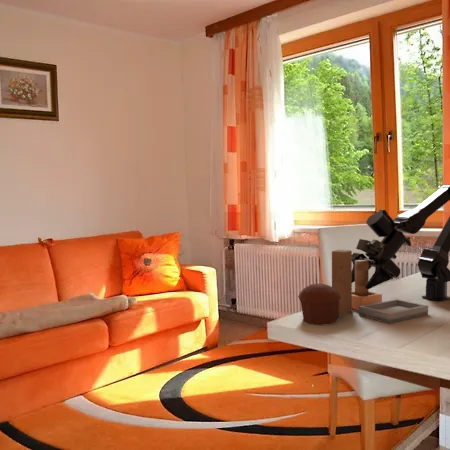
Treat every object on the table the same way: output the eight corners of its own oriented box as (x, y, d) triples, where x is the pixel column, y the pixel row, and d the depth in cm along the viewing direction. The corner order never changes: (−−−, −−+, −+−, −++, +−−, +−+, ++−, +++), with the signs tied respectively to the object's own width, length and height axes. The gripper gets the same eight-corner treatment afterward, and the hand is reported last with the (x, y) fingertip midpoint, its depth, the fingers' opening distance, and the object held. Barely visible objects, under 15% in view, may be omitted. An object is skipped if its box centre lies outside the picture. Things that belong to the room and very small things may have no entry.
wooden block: (339, 317, 144) (338, 253, 142) (324, 315, 146) (324, 252, 145) (352, 310, 151) (352, 250, 149) (337, 308, 153) (337, 249, 152)
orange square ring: (360, 302, 161) (361, 289, 161) (381, 307, 154) (381, 294, 154) (341, 305, 157) (341, 293, 157) (362, 311, 150) (362, 297, 149)
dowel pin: (361, 304, 158) (361, 259, 157) (371, 306, 155) (371, 261, 154) (351, 306, 156) (352, 260, 155) (361, 308, 153) (362, 262, 152)
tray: (396, 306, 154) (396, 298, 154) (428, 314, 145) (428, 305, 145) (358, 314, 146) (358, 306, 146) (389, 323, 136) (389, 314, 136)
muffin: (290, 321, 140) (290, 285, 140) (311, 313, 149) (310, 279, 148) (329, 328, 133) (328, 290, 132) (348, 319, 141) (348, 283, 140)
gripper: (355, 227, 164) (325, 263, 161) (392, 232, 146) (358, 273, 143) (376, 250, 167) (346, 286, 164) (414, 257, 149) (382, 298, 147)
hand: (357, 285), depth 155 cm, fingers open, 9 cm apart
